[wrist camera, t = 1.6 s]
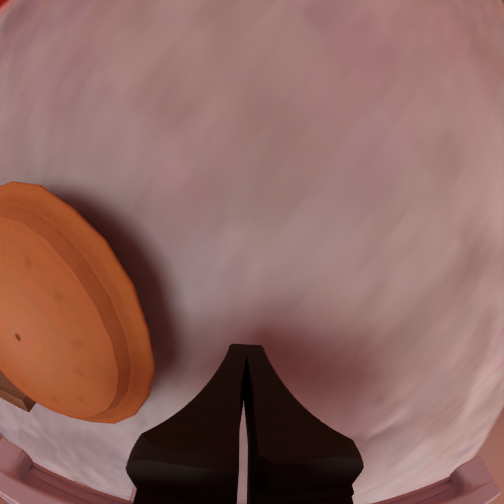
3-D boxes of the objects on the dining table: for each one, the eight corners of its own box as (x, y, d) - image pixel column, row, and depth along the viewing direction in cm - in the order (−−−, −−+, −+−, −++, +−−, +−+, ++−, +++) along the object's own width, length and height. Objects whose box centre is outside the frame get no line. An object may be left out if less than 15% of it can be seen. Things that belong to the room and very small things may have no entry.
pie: (-22, 201, 13) (-67, 214, 8) (149, 154, 13) (101, 148, 8) (32, 376, 17) (4, 409, 13) (192, 398, 17) (180, 454, 12)
